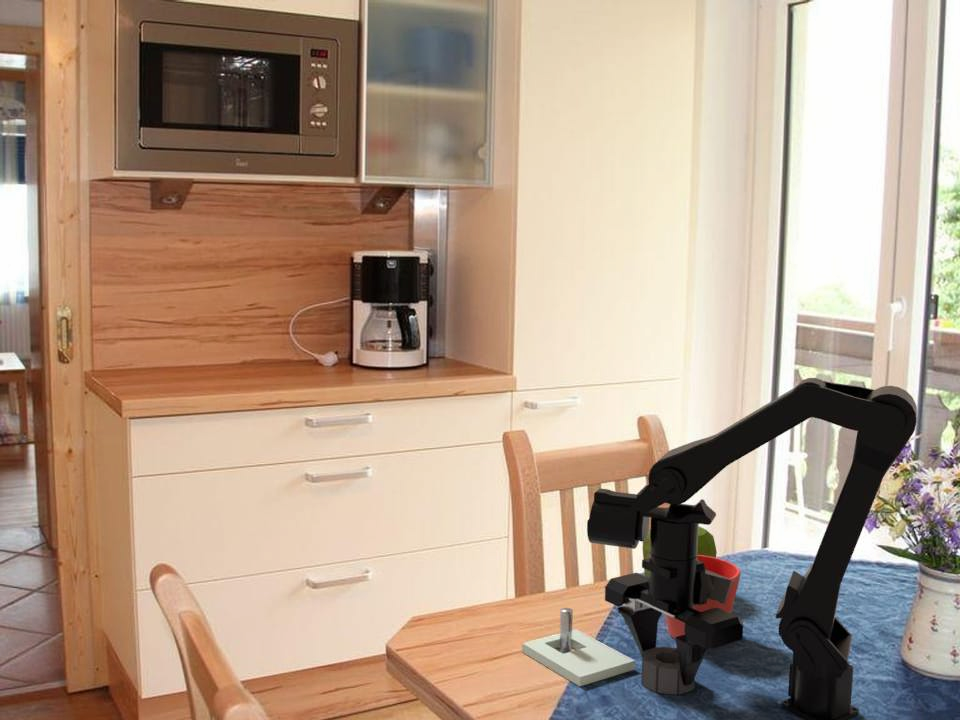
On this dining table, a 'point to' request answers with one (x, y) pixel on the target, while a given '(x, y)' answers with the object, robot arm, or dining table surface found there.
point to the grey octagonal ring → (663, 671)
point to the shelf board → (579, 658)
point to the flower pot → (719, 568)
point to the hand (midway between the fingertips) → (668, 674)
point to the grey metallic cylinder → (566, 630)
